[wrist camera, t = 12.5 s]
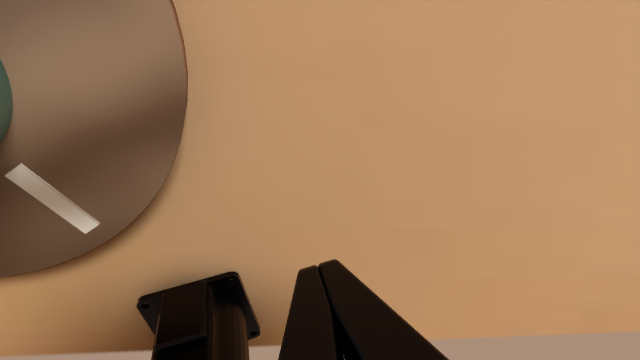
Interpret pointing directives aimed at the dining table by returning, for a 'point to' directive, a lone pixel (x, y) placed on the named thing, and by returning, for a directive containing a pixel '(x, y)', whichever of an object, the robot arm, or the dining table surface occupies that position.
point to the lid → (5, 102)
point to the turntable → (85, 122)
